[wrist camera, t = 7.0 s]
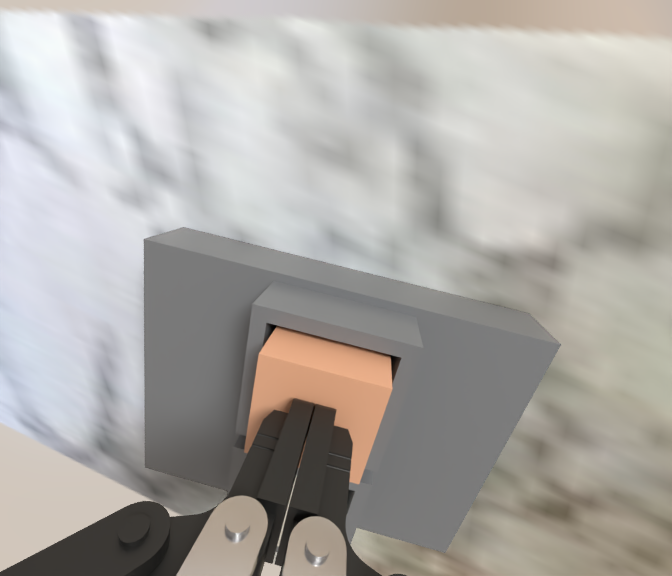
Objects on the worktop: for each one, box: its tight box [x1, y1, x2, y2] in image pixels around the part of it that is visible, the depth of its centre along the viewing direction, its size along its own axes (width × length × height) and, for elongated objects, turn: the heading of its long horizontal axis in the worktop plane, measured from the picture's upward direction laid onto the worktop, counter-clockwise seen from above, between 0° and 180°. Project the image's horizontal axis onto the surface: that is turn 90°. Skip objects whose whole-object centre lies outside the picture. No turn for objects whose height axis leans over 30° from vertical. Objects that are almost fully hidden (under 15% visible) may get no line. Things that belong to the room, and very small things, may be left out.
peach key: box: [244, 326, 392, 484], centre depth 12 cm, size 4×4×2 cm
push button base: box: [144, 227, 561, 553], centre depth 16 cm, size 18×14×6 cm
